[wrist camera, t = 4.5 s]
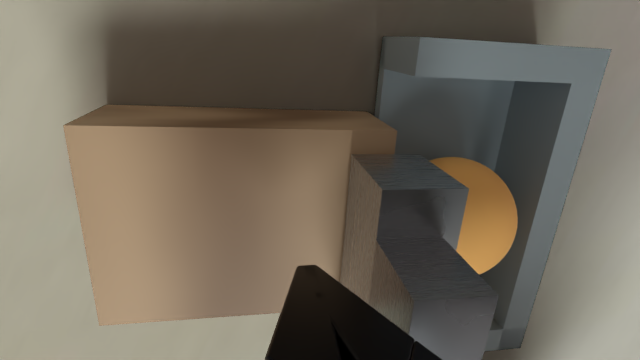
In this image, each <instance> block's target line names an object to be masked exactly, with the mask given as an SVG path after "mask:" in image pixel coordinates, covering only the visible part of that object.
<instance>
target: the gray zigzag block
mask: <svg viewBox="0 0 640 360" xmlns="http://www.w3.org/2000/svg"><path fill="white" fill-rule="evenodd" d="M468 192H469V188H467V187H466V186H465V185H463V184H462V183H460V182H459V181H457V180H456V179H454V178H453V177H452V176H450V175H449V174H447V173H446V172H444V171H443V170H441V169H440V168H439V167H437V166H436V165H434V164H433V163H431V162H430V161H428V160H427V159H426V158H424V157H423V156H421V155H413V154H351V164H350V176H349V187H348V198H347V210H346V221H345V232H344V243H343V255H342V266H341V277H340V283H341V284H342V285H344V286H345V287H346V288H348V289H349V290H350V291H352V292H353V293H354V294H356V295H357V296H358V297H360V298H361V299H362V300H364V301H365V302H366V303H367V304H369V305H370V306H371V307H373V308H374V309H375V310H377V311H378V312H379V313H381V314H382V315H383V316H385V317H386V318H387V319H389V320H390V321H391V322H393V323H394V324H395V325H397V326H398V327H399V328H401V329H402V330H403V331H405V332H406V333H407V334H409V335H410V336H411V337H412V338H414V339H415V341H418V342H419V343H421V344H422V345H423V346H425V347H426V348H427V349H429V350H430V351H431V352H433V353H434V354H435V355H437V356H438V357H440V358H441V359H442V360H482V358H483V354H484V350H485V346H486V343H487V339H488V335H489V331H490V328H491V324H492V320H493V316H494V312H495V309H496V305H497V301H498V297H499V295H498V294H497V293H496V292H495V291H494V290H493V289H492V288H491V287H490V286H489V285H488V284H487V283H486V282H485V281H484V279H483V278H482V277H481V276H480V275H479V274H478V273H477V272H476V271H475V270H474V269H473V268H472V267H471V266H470V265H469V264H468V263H467V262H466V261H465V260H464V259H463V258H462V257H461V256H460V255H459V254H458V253H457V251H456V249H457V245H458V240H459V235H460V230H461V225H462V221H463V216H464V211H465V206H466V201H467V196H468Z"/></svg>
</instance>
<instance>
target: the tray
mask: <svg viewBox="0 0 640 360" xmlns="http://www.w3.org/2000/svg"><path fill="white" fill-rule="evenodd" d="M610 52H611V49H599V48H584V47H569V46H553V45H538V44H523V43H507V42H492V41H477V40H461V39H446V38H431V37H383V40H382V49H381V58H380V68H379V77H378V87H377V96H376V105H375V115H374V116H375V117H376V118H378V119H379V120H381V121H383V122H384V123H386V124H387V125H389V126H390V127H392V128H394V129H395V130H397V137H396V145H395V153H394V154H413V155H421V156H423V157H424V158H426V159H427V160H428V161H430V160H433V159H436V158H442V157H461V158H466V159H470V160H473V161H476V162H478V163H481V164H483V165H485V166H486V167H488V168H489V169H491V170H492V171H494V172H495V173H496V174H497V175H498V176H499V177H500V178H501V179H502V180H503V181H504V183H505V184H506V185H507V187H508V188H509V190H510V192H511V194H512V196H513V198H514V201H515V204H516V208H517V216H518V224H517V231H516V235H515V238H514V241H513V244H512V246H511V248H510V249H509V251H508V253H507V254H506V255H505V256H504V258H503V259H502V260H501V261H500V262H499V263H498V264H496V265H495V266H494V267H492V268H491V269H489V270H488V271H486V272H484V273H482V274H479V275H480V276H481V277H482V278H483V279H484V281H485V282H486V283H487V284H488V285H489V286H490V287H491V288H492V289H493V290H494V291H495V292H496V293H497V294H498V295H499V297H498V301H497V305H496V309H495V312H494V316H493V320H492V324H491V328H490V331H489V335H488V339H487V343H486V346H485V350H484V351H493V350H503V349H513V348H520V347H521V344H522V340H523V337H524V334H525V331H526V327H527V324H528V321H529V318H530V314H531V311H532V308H533V304H534V301H535V298H536V295H537V291H538V288H539V285H540V282H541V278H542V275H543V272H544V268H545V265H546V262H547V259H548V255H549V252H550V249H551V246H552V242H553V239H554V236H555V232H556V229H557V226H558V223H559V219H560V216H561V213H562V210H563V206H564V203H565V200H566V196H567V193H568V190H569V187H570V183H571V180H572V177H573V174H574V170H575V167H576V164H577V160H578V157H579V154H580V151H581V147H582V144H583V141H584V138H585V134H586V131H587V128H588V124H589V121H590V118H591V115H592V111H593V108H594V105H595V102H596V98H597V95H598V92H599V88H600V85H601V82H602V79H603V75H604V72H605V69H606V66H607V62H608V59H609V56H610Z"/></svg>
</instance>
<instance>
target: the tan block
mask: <svg viewBox="0 0 640 360" xmlns="http://www.w3.org/2000/svg"><path fill="white" fill-rule="evenodd" d="M63 127H64V132H65V138H66V143H67V149H68V154H69V160H70V165H71V171H72V176H73V182H74V188H75V193H76V199H77V204H78V210H79V215H80V221H81V226H82V232H83V238H84V243H85V249H86V254H87V260H88V265H89V271H90V276H91V282H92V287H93V293H94V299H95V304H96V310H97V315H98V321H99V326H102V325H116V324H130V323H144V322H158V321H172V320H186V319H200V318H213V317H227V316H241V315H255V314H269V313H281V311H282V308H283V305H284V302H285V299H286V296H287V293H288V291H289V288H290V285H291V282H292V279H293V276H294V273H295V270H296V268H297V266H301V265H317V266H318V267H320V268H321V269H322V270H324V271H325V272H326V273H328V274H329V275H330V276H332V277H333V278H334V279H336V280H337V281H338V282H340V277H341V266H342V255H343V243H344V232H345V221H346V210H347V198H348V187H349V176H350V164H351V154H394V153H395V145H396V137H397V130H395V129H394V128H392V127H390V126H389V125H387V124H386V123H384V122H383V121H381V120H379V119H378V118H376V117H375V116H373V115H372V114H370V113H368V112H367V111H332V110H294V109H256V108H218V107H179V106H141V105H105V106H102V107H100V108H98V109H96V110H94V111H92V112H90V113H88V114H86V115H84V116H82V117H80V118H78V119H75V120H73V121H71V122H69V123H67V124H65V125H63Z"/></svg>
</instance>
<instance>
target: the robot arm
mask: <svg viewBox="0 0 640 360" xmlns="http://www.w3.org/2000/svg"><path fill="white" fill-rule="evenodd" d="M265 360H442V359H441V358H440V357H438V356H437V355H435V354H434V353H433V352H431V351H430V350H429V349H427V348H426V347H425V346H423V345H422V344H421V343H419V342H418V341H415V339H414V338H412V337H411V336H410V335H409V334H407V333H406V332H405V331H403V330H402V329H401V328H399V327H398V326H397V325H395V324H394V323H393V322H391V321H390V320H389V319H387V318H386V317H385V316H383V315H382V314H381V313H379V312H378V311H377V310H375V309H374V308H373V307H371V306H370V305H369V304H367V303H366V302H365V301H364V300H362V299H361V298H360V297H358V296H357V295H356V294H354V293H353V292H352V291H350V290H349V289H348V288H346V287H345V286H344V285H342V284H341V283H340V282H338V281H337V280H336V279H334V278H333V277H332V276H330V275H329V274H328V273H326V272H325V271H324V270H322V269H321V268H320V267H318V266H317V265H301V266H297V268H296V270H295V273H294V276H293V279H292V282H291V285H290V288H289V291H288V293H287V296H286V299H285V302H284V305H283V308H282V311H281V314H280V317H279V319H278V322H277V325H276V328H275V331H274V334H273V337H272V340H271V343H270V345H269V348H268V351H267V354H266V357H265Z"/></svg>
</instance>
